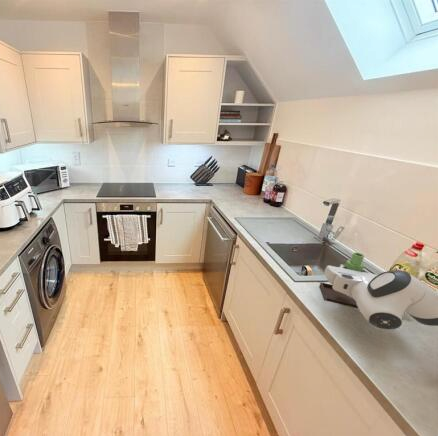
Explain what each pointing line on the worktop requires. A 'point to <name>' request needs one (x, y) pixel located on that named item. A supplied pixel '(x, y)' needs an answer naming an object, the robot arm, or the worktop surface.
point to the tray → (336, 296)
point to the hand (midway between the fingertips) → (351, 267)
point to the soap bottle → (355, 262)
